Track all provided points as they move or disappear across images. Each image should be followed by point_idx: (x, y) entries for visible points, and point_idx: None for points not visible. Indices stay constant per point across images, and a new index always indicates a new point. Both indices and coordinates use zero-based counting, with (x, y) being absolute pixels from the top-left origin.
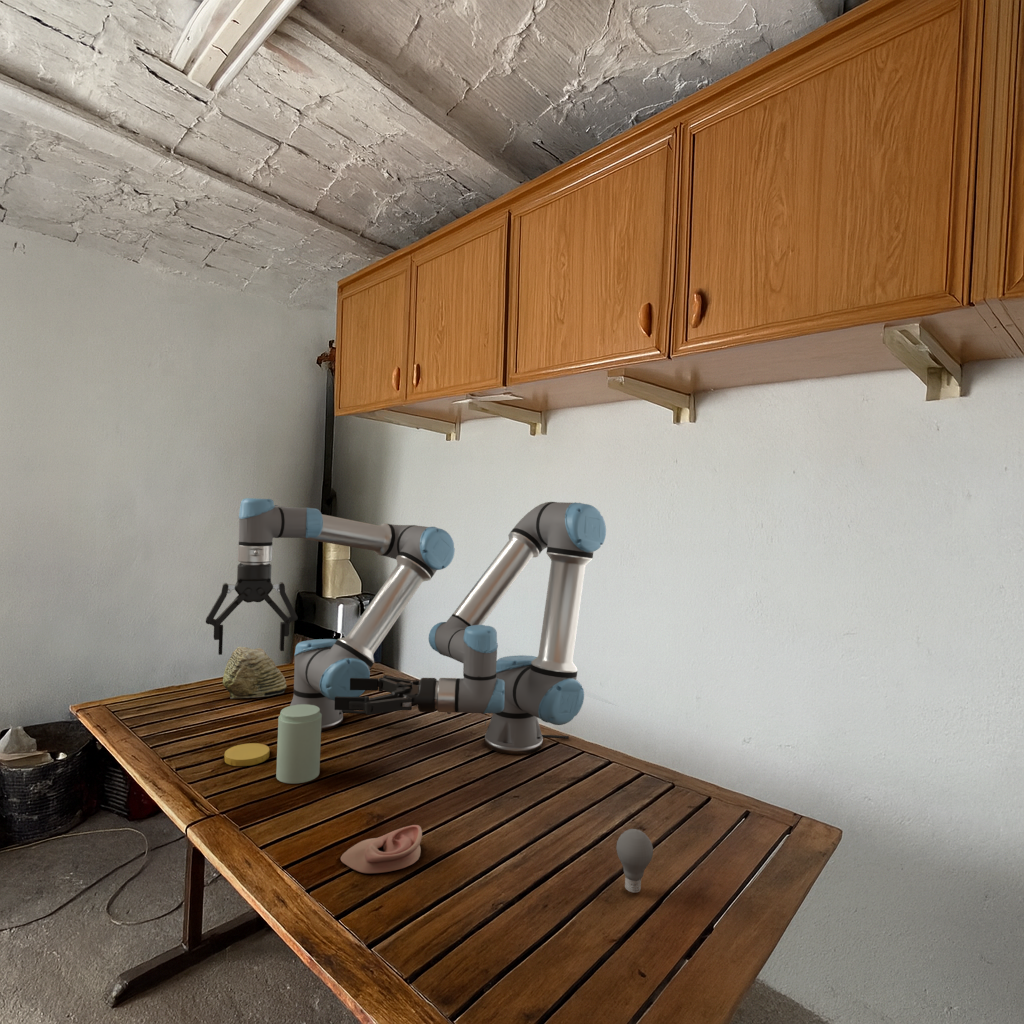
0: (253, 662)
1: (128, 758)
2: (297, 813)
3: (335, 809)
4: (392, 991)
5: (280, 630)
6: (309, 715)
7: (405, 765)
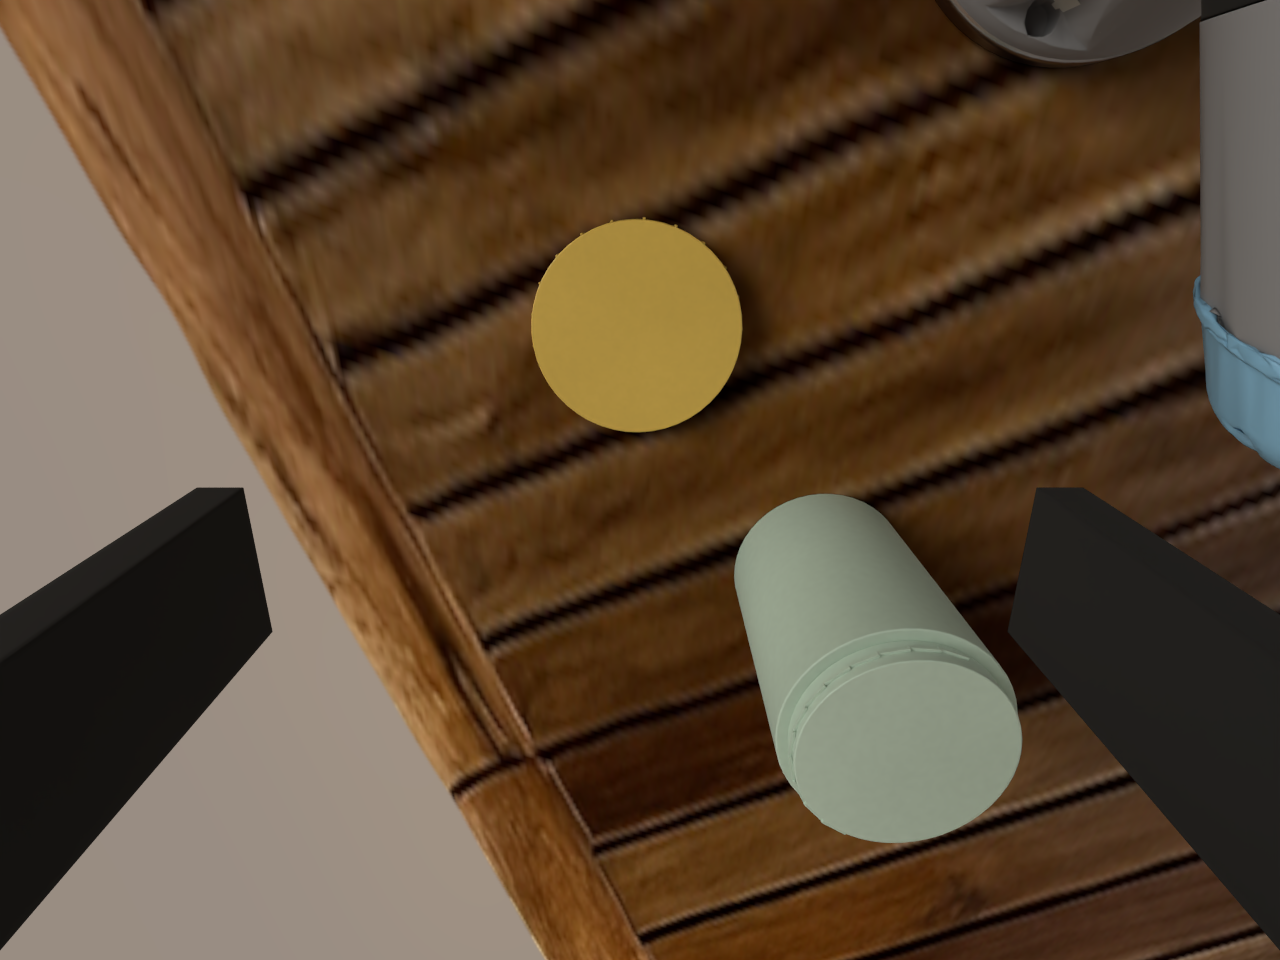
0: None
1: (76, 135)
2: (758, 821)
3: None
4: None
5: (1239, 698)
6: (930, 837)
7: None
